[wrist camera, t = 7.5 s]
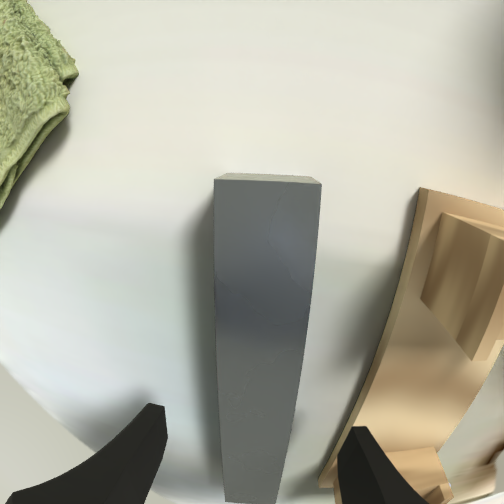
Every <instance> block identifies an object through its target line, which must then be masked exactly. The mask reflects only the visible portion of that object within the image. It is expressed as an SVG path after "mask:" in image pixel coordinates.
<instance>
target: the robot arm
mask: <svg viewBox="0 0 504 504" xmlns="http://www.w3.org/2000/svg"><path fill="white" fill-rule="evenodd" d="M167 439H168V434H167V426H166V417H165V408H164V406H160V405H156V404H152V403H148V404H147V405H146V406H145V407H144V408H143V409H142V411H141V412H140V413H139V414H138V415H137V416H136V417H135V418H134V419H133V420H132V421H131V422H130V423H129V424H128V425H127V426H126V427H125V428H124V429H123V430H122V431H121V432H120V433H119V434H118V435H117V436H116V437H115V438H114V439H113V440H112V441H110V442H109V443H108V444H107V445H106V446H104V447H103V448H102V449H101V450H99V451H98V452H97V453H96V454H94V455H93V456H92V457H90V458H89V459H87V460H86V461H85V462H83V463H81V464H80V465H78V466H76V467H75V468H73V469H71V470H69V471H68V472H66V473H64V474H62V475H60V476H58V477H56V478H53V479H51V480H49V481H46V482H44V483H42V484H39V485H36V486H33V487H30V488H26V489H23V490H19V491H16V492H13V493H12V495H11V496H10V497H9V498H8V500H7V502H6V503H5V504H144V502H145V500H146V497H147V495H148V492H149V490H150V488H151V485H152V483H153V480H154V478H155V475H156V473H157V471H158V468H159V466H160V463H161V461H162V458H163V454H164V451H165V447H166V443H167ZM337 470H338V481H339V487H340V493H341V499H342V504H429V503H428V502H427V501H426V500H425V499H423V498H422V497H421V496H420V495H419V494H418V493H417V492H416V491H415V490H414V489H413V488H412V487H411V486H410V485H409V483H408V482H407V481H406V480H405V479H404V478H403V476H402V475H401V474H400V473H399V472H398V470H397V469H396V468H395V466H394V465H393V464H392V462H391V461H390V460H389V458H388V457H387V456H386V454H385V453H384V451H383V450H382V448H381V447H380V446H379V444H378V443H377V441H376V440H375V438H374V437H373V435H372V434H371V432H370V431H369V429H368V428H367V426H352V427H351V429H350V431H349V433H348V435H347V437H346V439H345V441H344V443H343V445H342V447H341V449H340V451H339V453H338V454H337ZM449 485H450V483H449ZM450 487H451V485H450Z"/></svg>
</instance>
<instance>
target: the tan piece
mask: <svg viewBox="0 0 504 504" xmlns="http://www.w3.org/2000/svg"><path fill="white" fill-rule="evenodd" d="M503 345H504V210H502V209H499V208H496V207H493V206H489V205H486V204H482V203H479V202H475V201H472V200H468V199H465V198H461V197H457V196H453V195H450V194H446V193H442V192H438V191H434V190H430V189H425V188H421V187H420V190H419V196H418V201H417V207H416V212H415V217H414V222H413V227H412V231H411V236H410V240H409V244H408V249H407V253H406V257H405V261H404V265H403V269H402V272H401V276H400V280H399V283H398V287H397V291H396V294H395V297H394V301H393V304H392V307H391V310H390V314H389V317H388V320H387V323H386V326H385V329H384V332H383V335H382V338H381V341H380V343H379V346H378V349H377V352H376V354H375V357H374V360H373V362H372V365H371V368H370V370H369V373H368V375H367V378H366V380H365V383H364V385H363V388H362V390H361V392H360V395H359V397H358V399H357V402H356V404H355V406H354V409H353V411H352V413H351V415H350V417H349V420H348V422H347V424H346V426H345V428H344V430H343V432H342V434H341V436H340V438H339V440H338V442H337V444H336V446H335V448H334V450H333V452H332V454H331V456H330V458H329V460H328V462H327V464H326V465H325V467H324V469H323V471H322V473H321V474H320V476H319V478H318V486H319V488H334V495H335V504H342V499H341V493H340V487H339V481H338V470H337V454H338V453H339V451H340V449H341V447H342V445H343V443H344V441H345V439H346V437H347V435H348V433H349V431H350V429H351V427H352V426H367V428H368V429H369V431H370V432H371V434H372V435H373V437H374V438H375V440H376V441H377V443H378V444H379V446H380V447H381V448H382V450H383V451H384V453H385V454H386V456H387V457H388V458H389V460H390V461H391V462H392V464H393V465H394V466H395V468H396V469H397V470H398V472H399V473H400V474H401V475H402V476H403V478H404V479H405V480H406V481H407V482H408V483H409V485H410V486H411V487H412V488H413V489H414V490H415V491H416V492H417V493H418V494H419V495H420V496H421V497H422V498H423V499H425V500H426V501H427V502H428V503H429V504H447V503H448V502H449V501H450V500H451V499H452V498H453V497H454V496H453V493H452V491H451V488H450V485H449V483H448V480H447V478H446V475H445V472H444V470H443V467H442V465H441V462H440V460H439V457H438V455H437V452H438V451H439V450H440V448H441V447H442V446H443V444H444V443H445V442H446V440H447V439H448V438H449V436H450V435H451V433H452V432H453V431H454V429H455V428H456V426H457V425H458V423H459V422H460V420H461V419H462V417H463V416H464V414H465V413H466V411H467V410H468V408H469V407H470V405H471V403H472V402H473V400H474V399H475V397H476V395H477V394H478V392H479V390H480V389H481V387H482V385H483V383H484V381H485V380H486V378H487V376H488V374H489V372H490V371H491V369H492V367H493V365H494V363H495V361H496V359H497V357H498V355H499V353H500V351H501V349H502V347H503Z"/></svg>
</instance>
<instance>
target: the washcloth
mask: <svg viewBox="0 0 504 504" xmlns="http://www.w3.org/2000/svg"><path fill="white" fill-rule="evenodd" d="M74 63H75V59H73V58H71V56H70V55H68V53H67V52H66V50H65V49H64V47H63V46H62V45H61V44H60V40H58V41H57V39H55V38H54V37H53V35H52V34H50V29H49V28H48V26H46V25H45V24H44V23H43V22H42V21H41V20H40V19H39V18H38V16H36V15H35V12H34V10H33V8H32V7H31V6H30V4H28V3H27V0H0V209H1V208H2V206H3V204H4V202H5V200H6V198H7V197H8V195H9V194H10V190H11V188H12V187H13V185H14V184H15V182H16V181H17V179H18V178H19V176H20V175H21V174H22V172H23V171H24V169H25V168H26V166H27V165H28V164H29V162H30V161H31V159H32V157H33V156H34V154H35V152H36V151H37V150H38V148H39V147H40V145H41V144H42V143H43V142H44V140H45V138H46V137H47V135H48V134H49V133H50V132H51V131H52V130H53V129H54V128H55V127H56V126H57V125H58V124H59V123H60V122H61V121H62V120H63V119H64V118H65V117H66V116H67V115H68V113H69V110H70V106H69V104H68V102H67V100H66V98H67V95H68V94H70V92H69V90H68V88H67V86H68V85H69V83H70V82H71V81H72V80H73V79H75V78H76V77H77V76H78V75H79V72H78V70H77V68H76V66H75V65H74Z"/></svg>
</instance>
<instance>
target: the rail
mask: <svg viewBox="0 0 504 504" xmlns="http://www.w3.org/2000/svg"><path fill="white" fill-rule="evenodd" d="M321 187H322V184H321V183H319V182H318V181H316V180H315V179H313V178H312V177H309V176H293V175H274V174H248V173H226V174H224V175H222V176H220V177H218V178H216V179H214V297H215V335H216V363H217V386H218V406H219V423H220V439H221V454H222V467H223V480H224V492H225V502H233V503H245V504H275V503H276V499H277V495H278V490H279V486H280V481H281V477H282V472H283V468H284V463H285V458H286V453H287V448H288V443H289V438H290V433H291V428H292V422H293V417H294V411H295V406H296V400H297V394H298V388H299V382H300V376H301V369H302V363H303V356H304V349H305V342H306V335H307V328H308V320H309V312H310V304H311V296H312V287H313V278H314V269H315V259H316V249H317V238H318V227H319V215H320V201H321Z"/></svg>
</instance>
